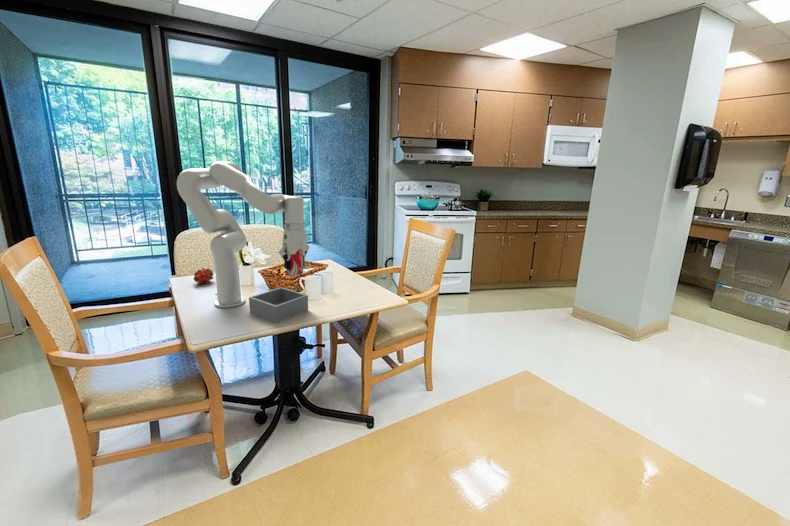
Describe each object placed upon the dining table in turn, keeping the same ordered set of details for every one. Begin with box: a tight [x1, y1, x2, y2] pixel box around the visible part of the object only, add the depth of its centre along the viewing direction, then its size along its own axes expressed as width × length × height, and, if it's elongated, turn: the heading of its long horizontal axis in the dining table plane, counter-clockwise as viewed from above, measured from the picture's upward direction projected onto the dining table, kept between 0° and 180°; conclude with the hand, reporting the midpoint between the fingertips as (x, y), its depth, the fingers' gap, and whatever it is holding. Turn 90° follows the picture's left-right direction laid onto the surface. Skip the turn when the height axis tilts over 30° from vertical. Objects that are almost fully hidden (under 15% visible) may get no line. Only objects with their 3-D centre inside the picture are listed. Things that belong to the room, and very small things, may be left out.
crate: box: [248, 286, 309, 324], centre depth 156 cm, size 17×17×7 cm
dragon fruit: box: [193, 267, 215, 285], centre depth 188 cm, size 8×8×12 cm
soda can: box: [285, 248, 304, 277], centre depth 155 cm, size 7×7×12 cm
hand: (294, 266), depth 156 cm, fingers closed on soda can, 7 cm apart
